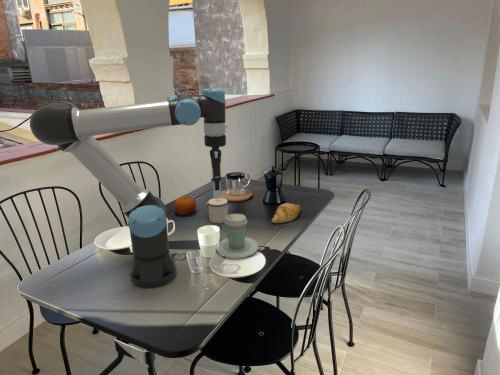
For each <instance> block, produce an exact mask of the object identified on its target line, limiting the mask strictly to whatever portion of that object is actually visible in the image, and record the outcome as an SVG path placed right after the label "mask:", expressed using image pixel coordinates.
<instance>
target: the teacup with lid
mask: <svg viewBox="0 0 500 375" xmlns="http://www.w3.org/2000/svg"><path fill="white" fill-rule="evenodd" d="M228 204H229V201H228V200H227V198H225V197H221V198H218V199H213V198H210V199H209V200H208V201H207V202H206V204H205V209H206V211H207V212H208V219H209V221H210V222H211V223H213V224H222V223H224V222H225V219H226V216H228V215H229V211H228V210H229V209H228Z"/></svg>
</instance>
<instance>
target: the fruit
mask: <svg viewBox="0 0 500 375" xmlns="http://www.w3.org/2000/svg"><path fill="white" fill-rule="evenodd" d="M173 208H174V210H175V212H176V213H178V214H179V215H182V216H185V215H190V214H192V213H194V212H195V211H196V209H197V201H196V199H195V198H193V197H192V196H189V195H183V196H180V197H178V198H176V199H175V201H174V204H173Z"/></svg>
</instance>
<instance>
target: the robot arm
mask: <svg viewBox="0 0 500 375" xmlns="http://www.w3.org/2000/svg"><path fill="white" fill-rule="evenodd" d="M226 103H227V102H226V93H225V90H224V89H222V88H203V90H202V94H193V95H192V94H188V95H187V94H176V95H168V96H167V97H166V100H162V101H152V102H143V103H135V104H126V105H125V104H124V105H116V106H108V107H97V108H89V109H79V107H77V106H76V105H74V104H72V103H70V102H68V101H61V100H59V101H58V100H57V101H52V102H50V103H48V104H46V105H44V106H43V105H42V106H41V107H38V108H37V109H36V110H35V111H34V112H33V113H32V114H31V116H30V120H29V127H30V130H31V133H32V135H33V136H34V137H35V138H36V139H37V140H38V141H39V142H41V143H43V144H45V145H47V146H57V147H58V148H59V149H60V151H61V152H63V153H69V154H70V153H71V154H72V155H73V156H74V157H75V158H76V159H77V160H78V162H80V163H81V165H83V167H84V168H85V169H86V170H87V171H89V173H90V174H91V175H92V176H93V177H94V178H95V179H96V180H97V181H98V182H99V183H100V184H101V185H102V186H103V187H104V188H105V189H106V190H107V191H108V192H109V193H110V194H111V195H112V196H113V198H114V199H116V201H117V202H119V203H120V205H122V213H123V215H125V216H126V217H127V218H128V222H127V224H128V225H127V226H128V229H129V234H130V242H131V248H132V255H133V256H132V257H133V259H132V264H131V268H130V272H129V274H130V282H131V283H132V285H134V286H136V287H138V288H140V289H141V288H142V289H154V288H159V287H163V286H165V285H168V284H170V282H171V283H172V281H173V280H174V279H175V278H176V276H177V275H178V271H177V264H176V262H175V261H174V259H173V257H172V255H171V253H170V246H169V245H170V244H169V235H168V233H169V232H168V223H167V222H168V217H167V216H168V211H167V207H166V204H165V203H164V201H163V200H162V199H161V198H160V197H158V196H156V195H154V194H153V193H152V192H151V190H149V189H148V188H145V189H144V188H141V186H140V185H139V184H138V183H137V182H136V181H135V180H134V179H133V178H132V176H130V174H128V173H127V171H125V169H124V168H123V167H122V166H121V165H120V164H119V162H118V161H116V160H115V159H114V157H113V156H112V155H111V154H110V153H109V152H108V151H107V149H105V147H103V146H102V144H101V143H100V142H99V140H97V139H96V138H95V137H94V136H99V135H102V136H103V135H107V134H108V135H109V134H116V133H123V132H124V133H125V132H132V131H138V130H139V131H140V130H147V129H148V130H149V129H155V128H162V127H163V128H164V127H169V126H180V125H181V126H193V125H195V124H196V123H198V121H199V120H200V118H203V134H205V135H204V137H203V140H204V141H203V142H204V146H205V147H208V148H211V149H210V150H209V156H210V162H211V180H210V181H211V185H212V186H211V187H212V192H213V194H212V196H213V197H212V199H218V198H222V177H221V175H222V174H221V171H222V170H221V163H222V150H221V149H220V147H221V148H222V147H225V146H226V145H227V136H226V133H227V132H226V131H227V130H226V128H228V124H226V105H227V104H226Z"/></svg>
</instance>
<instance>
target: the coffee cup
mask: <svg viewBox="0 0 500 375" xmlns="http://www.w3.org/2000/svg"><path fill="white" fill-rule="evenodd" d="M223 223H224V225H225V229H226V236H227V237H226V238H228V243H229V248H230V249H233V250H240V249H242V248H244V245H245V237H246V233H247V232H246V231H247V224H248V219H247V216H246V215H245V214H243V213H230V214H228V216H226V219H225V222H223Z"/></svg>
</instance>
